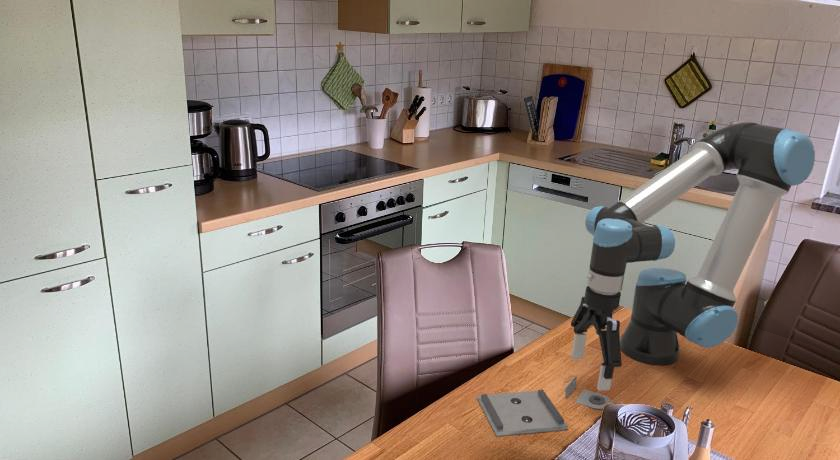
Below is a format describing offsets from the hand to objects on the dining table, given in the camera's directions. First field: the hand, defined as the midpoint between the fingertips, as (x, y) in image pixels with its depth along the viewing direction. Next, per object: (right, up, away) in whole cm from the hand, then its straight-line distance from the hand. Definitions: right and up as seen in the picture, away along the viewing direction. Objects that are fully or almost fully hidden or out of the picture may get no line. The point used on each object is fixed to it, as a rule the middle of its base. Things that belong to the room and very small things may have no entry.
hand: (589, 373), depth 150 cm
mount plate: (-17, -8, -5) cm, 19 cm away
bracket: (0, -7, +2) cm, 7 cm away
